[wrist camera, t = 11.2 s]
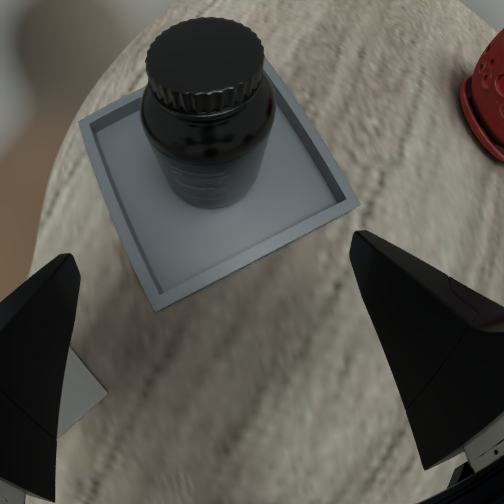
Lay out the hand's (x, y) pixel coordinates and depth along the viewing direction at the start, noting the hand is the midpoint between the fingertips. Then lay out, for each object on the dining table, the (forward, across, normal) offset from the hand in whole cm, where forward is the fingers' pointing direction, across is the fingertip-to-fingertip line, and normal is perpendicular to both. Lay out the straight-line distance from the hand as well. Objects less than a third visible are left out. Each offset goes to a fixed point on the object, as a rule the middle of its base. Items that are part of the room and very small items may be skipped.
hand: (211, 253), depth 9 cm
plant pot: (+20, -32, -2) cm, 37 cm away
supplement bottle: (+14, 0, +2) cm, 15 cm away
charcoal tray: (+15, 0, +3) cm, 15 cm away
